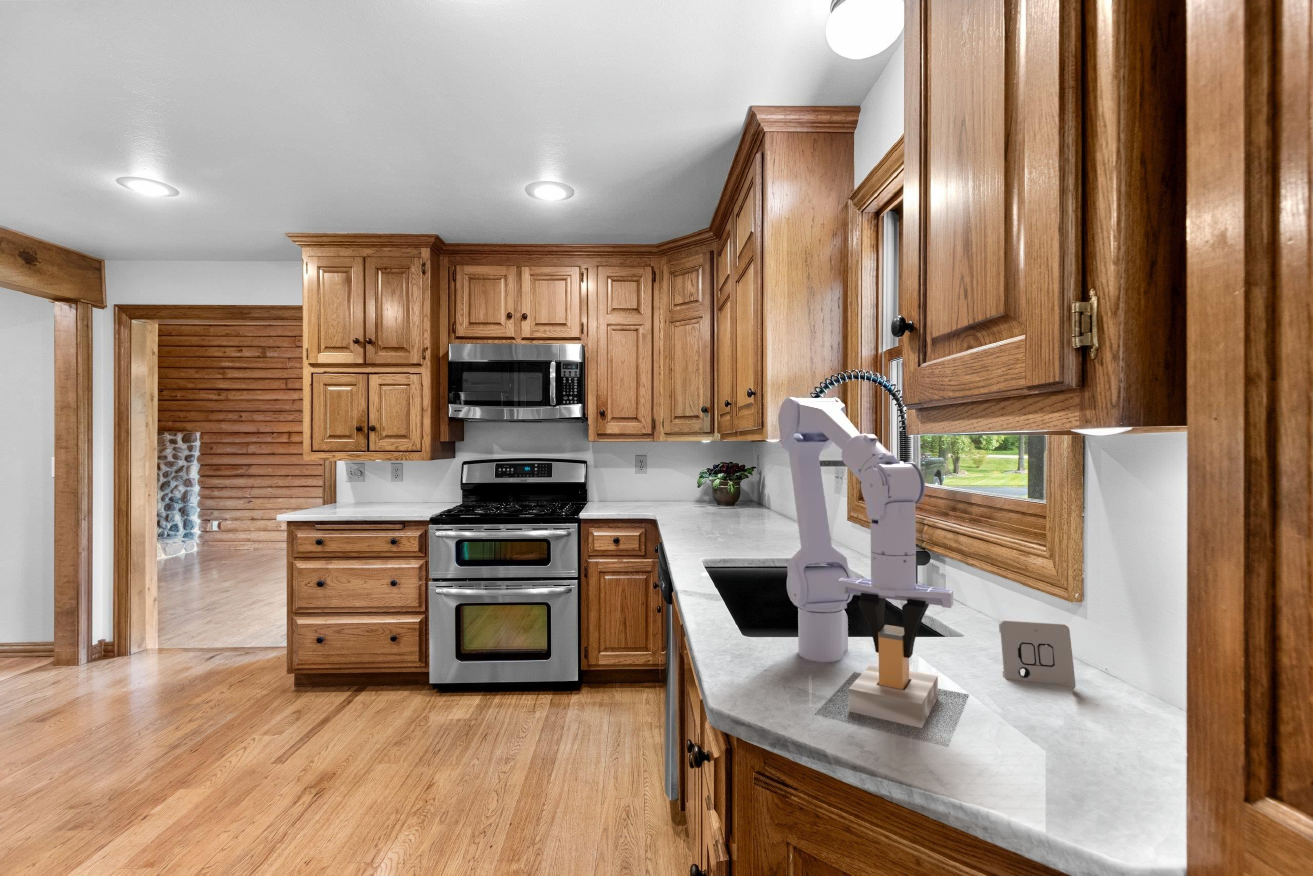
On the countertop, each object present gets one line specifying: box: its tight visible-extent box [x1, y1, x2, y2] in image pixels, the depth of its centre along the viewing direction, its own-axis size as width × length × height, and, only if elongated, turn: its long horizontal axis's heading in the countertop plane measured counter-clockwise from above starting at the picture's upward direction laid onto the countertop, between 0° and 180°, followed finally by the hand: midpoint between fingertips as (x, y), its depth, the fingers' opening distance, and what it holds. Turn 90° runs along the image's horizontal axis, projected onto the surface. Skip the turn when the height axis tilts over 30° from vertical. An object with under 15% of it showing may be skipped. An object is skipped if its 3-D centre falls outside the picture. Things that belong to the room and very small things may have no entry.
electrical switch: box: [998, 620, 1077, 690], centre depth 95 cm, size 9×5×9 cm, turn 74°
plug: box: [878, 624, 910, 690], centre depth 85 cm, size 4×3×7 cm
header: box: [815, 663, 970, 748], centre depth 84 cm, size 18×16×4 cm
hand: (893, 653), depth 85 cm, fingers closed on plug, 3 cm apart
